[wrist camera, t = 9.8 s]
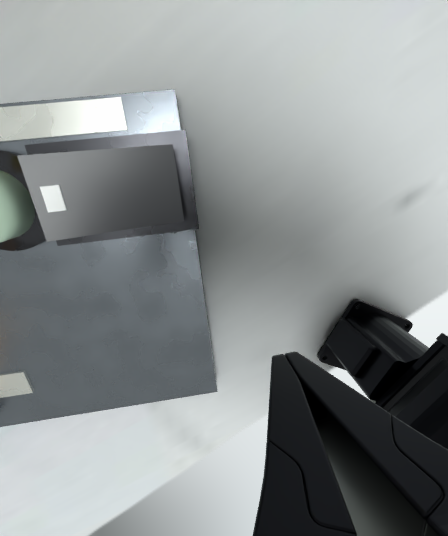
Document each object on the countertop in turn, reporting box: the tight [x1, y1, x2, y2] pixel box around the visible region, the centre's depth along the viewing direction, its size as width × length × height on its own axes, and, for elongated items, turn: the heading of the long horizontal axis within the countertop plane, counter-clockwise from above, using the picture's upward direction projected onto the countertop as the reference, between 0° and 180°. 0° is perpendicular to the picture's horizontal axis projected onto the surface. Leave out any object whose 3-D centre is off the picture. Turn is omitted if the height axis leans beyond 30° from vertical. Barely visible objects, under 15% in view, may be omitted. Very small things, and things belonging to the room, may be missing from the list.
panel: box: [0, 89, 217, 427], centre depth 17 cm, size 21×22×4 cm
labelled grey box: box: [17, 144, 184, 242], centre depth 14 cm, size 7×4×1 cm, turn 96°
